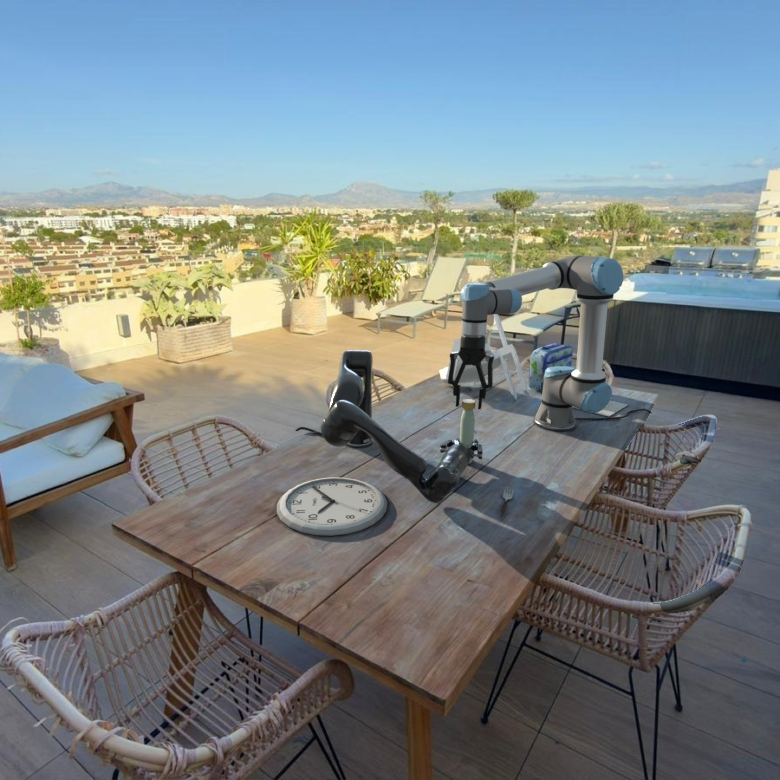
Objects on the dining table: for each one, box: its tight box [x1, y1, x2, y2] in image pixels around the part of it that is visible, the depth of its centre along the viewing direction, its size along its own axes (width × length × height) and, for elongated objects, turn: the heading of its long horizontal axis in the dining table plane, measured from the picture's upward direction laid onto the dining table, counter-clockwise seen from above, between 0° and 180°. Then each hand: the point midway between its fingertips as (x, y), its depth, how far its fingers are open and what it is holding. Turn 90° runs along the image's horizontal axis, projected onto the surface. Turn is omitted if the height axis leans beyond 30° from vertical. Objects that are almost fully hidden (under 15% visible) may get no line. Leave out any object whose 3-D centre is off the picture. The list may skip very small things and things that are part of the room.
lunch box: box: [528, 343, 574, 392], centre depth 249 cm, size 26×11×21 cm, turn 134°
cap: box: [461, 398, 477, 410], centre depth 165 cm, size 4×4×2 cm
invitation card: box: [573, 400, 629, 418], centre depth 226 cm, size 21×1×15 cm
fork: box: [500, 486, 514, 518], centre depth 144 cm, size 3×16×2 cm, turn 160°
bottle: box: [459, 408, 476, 465], centre depth 168 cm, size 4×4×20 cm
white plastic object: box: [438, 314, 531, 400], centre depth 245 cm, size 37×45×31 cm
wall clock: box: [276, 476, 388, 537], centre depth 142 cm, size 30×2×30 cm
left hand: (468, 440), depth 172 cm, fingers closed on bottle, 4 cm apart
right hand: (468, 406), depth 166 cm, fingers open, 6 cm apart
